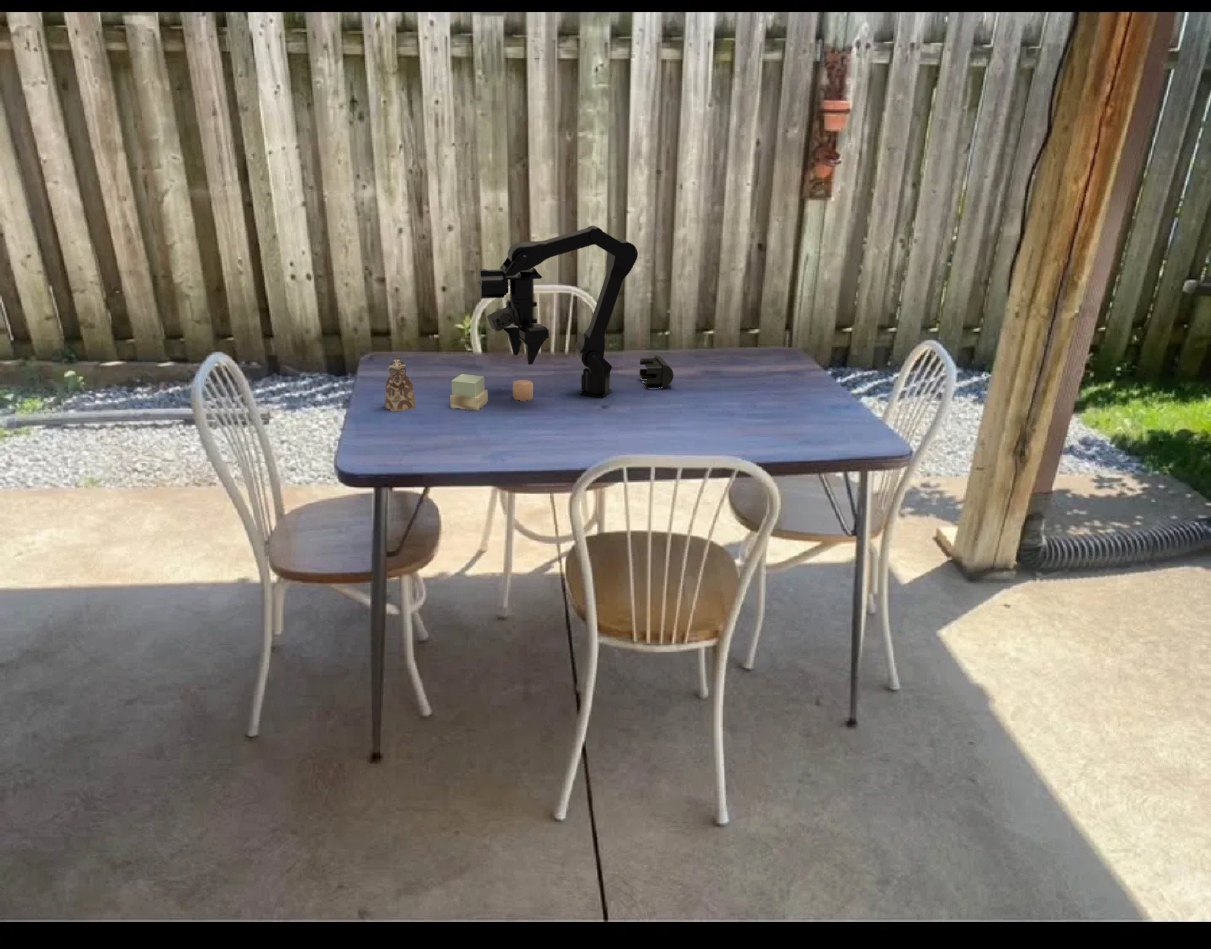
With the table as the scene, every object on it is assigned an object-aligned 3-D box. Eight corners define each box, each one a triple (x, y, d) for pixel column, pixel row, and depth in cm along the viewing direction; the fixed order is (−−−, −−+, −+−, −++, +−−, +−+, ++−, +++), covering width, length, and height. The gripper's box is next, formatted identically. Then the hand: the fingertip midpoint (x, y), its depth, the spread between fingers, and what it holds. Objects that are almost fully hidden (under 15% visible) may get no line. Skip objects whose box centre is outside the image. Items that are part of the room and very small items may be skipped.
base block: (487, 403, 218) (487, 389, 216) (477, 412, 212) (477, 398, 210) (461, 400, 219) (461, 387, 218) (450, 409, 213) (450, 395, 212)
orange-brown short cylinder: (536, 396, 223) (536, 381, 221) (527, 402, 219) (527, 386, 217) (518, 393, 225) (518, 378, 223) (509, 399, 220) (509, 384, 219)
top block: (484, 390, 216) (484, 376, 215) (475, 397, 211) (474, 383, 209) (461, 387, 217) (461, 374, 216) (452, 394, 212) (451, 380, 211)
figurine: (382, 411, 209) (378, 362, 205) (389, 401, 216) (386, 354, 211) (411, 412, 209) (408, 363, 205) (418, 402, 216) (415, 355, 211)
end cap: (672, 389, 232) (674, 364, 229) (646, 390, 230) (648, 365, 228) (664, 378, 241) (665, 354, 238) (638, 379, 239) (639, 355, 237)
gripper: (476, 292, 216) (479, 353, 222) (505, 307, 200) (506, 373, 207) (518, 289, 220) (519, 349, 227) (549, 303, 205) (549, 367, 211)
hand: (522, 359), depth 218 cm, fingers open, 9 cm apart
